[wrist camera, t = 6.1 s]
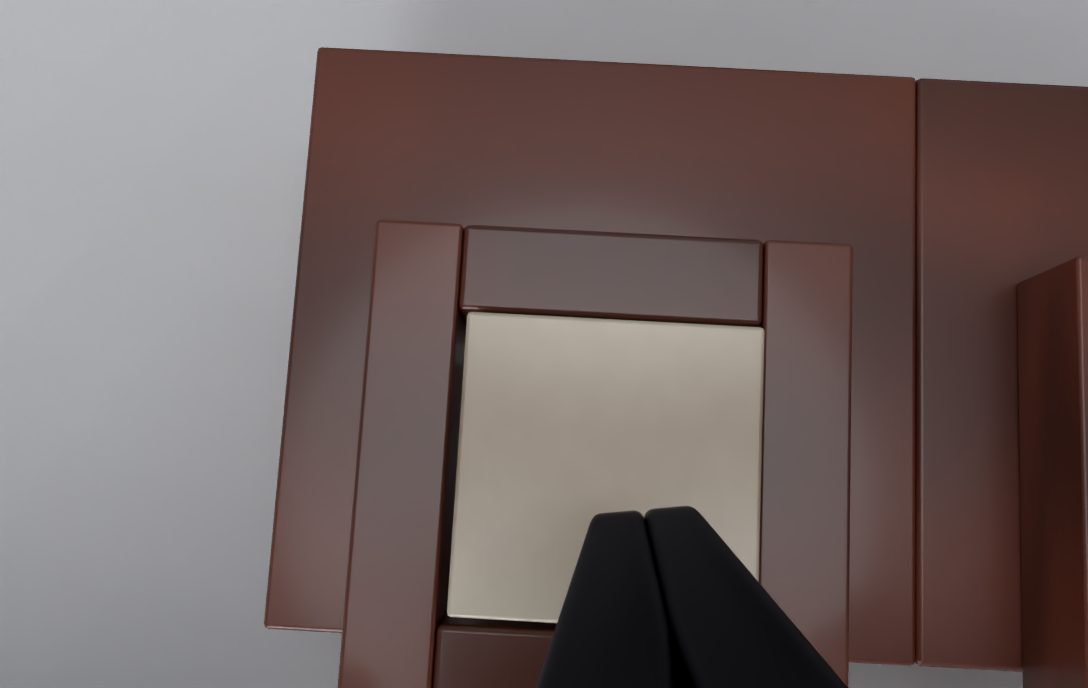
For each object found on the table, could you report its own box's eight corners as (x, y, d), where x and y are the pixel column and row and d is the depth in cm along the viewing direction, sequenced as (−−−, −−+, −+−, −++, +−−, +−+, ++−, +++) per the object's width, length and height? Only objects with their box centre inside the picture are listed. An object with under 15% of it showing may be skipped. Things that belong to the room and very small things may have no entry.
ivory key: (730, 616, 13) (758, 635, 12) (459, 601, 13) (446, 617, 12) (738, 347, 14) (765, 327, 12) (477, 333, 14) (466, 310, 12)
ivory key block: (822, 662, 19) (968, 753, 13) (330, 634, 19) (216, 709, 13) (829, 175, 21) (964, 22, 14) (371, 151, 21) (287, -11, 14)
